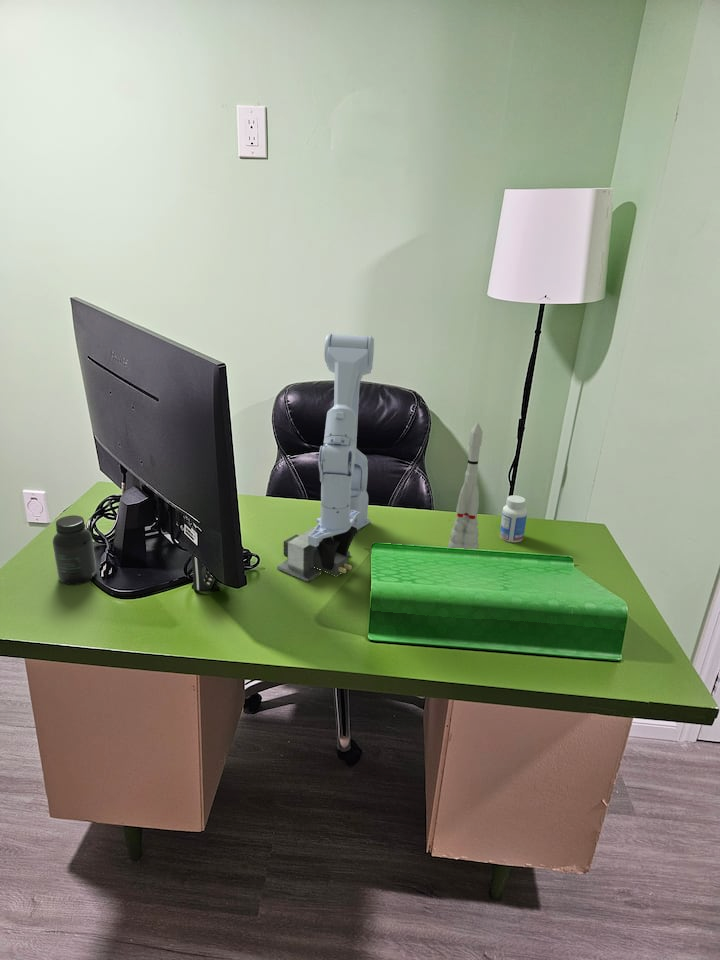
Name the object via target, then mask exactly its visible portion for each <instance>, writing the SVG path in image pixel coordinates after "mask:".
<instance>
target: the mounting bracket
mask: <svg viewBox="0 0 720 960" xmlns="http://www.w3.org/2000/svg"><path fill="white" fill-rule="evenodd" d="M315 528H316V526H314V527H312V528H310V529H309V530H307V531H305V532H303V533H301V534H299V536H298V537H296V538H294V539H293V540H291V541H289V542H288V556H287V559H286V560H285V561H283V562H281V563H279V564H278V565H277V566H276V570H278V571H280V572H282V571H283V573H285V572H286V573H285V574H287V573H288V574H287V575H289V574H290V576H292V577H294V576H295V577H294V578H296V577H297V578H296V579H299V578H300V579H299V580H301V579H302V580H301V581H303V580H304V581H303V582H305V581H310V580H311V581H312V579H313V578H314V579H316V578H317V577H319V576H320V575H321V574H322V571H321V570H319V569H317V568H314V551H315V550H316V549H317V548H316V547H315V546H312V545H309V544H308V535H309V534H311V533H312V532H313V531H314V529H315ZM331 538H333V536H332V537H331ZM350 554H351V552H350V550H348V552H347V556H346V557H349V556H350ZM320 573H321V574H320ZM319 574H320V575H319ZM318 575H319V576H318ZM316 576H317V577H316ZM315 577H316V578H315ZM314 579H313V580H314ZM311 581H310V582H311Z"/></svg>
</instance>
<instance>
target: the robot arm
mask: <svg viewBox="0 0 720 960" xmlns="http://www.w3.org/2000/svg"><path fill="white" fill-rule="evenodd" d="M374 351H375V338H374V337H373V336H372V335H368V336H367V335H351V334H350V335H348V334H335V333H334V334H333V333H328V334H327V335H326V336H325V340H324V352H323V353H324V355H323V356H324V362H325V364H326V366H327V369H328V370H329V372H332V373H333V374H334V379H333V380H334V385H333V387H334V389H333V391H334V392H333V393H334V394H333V397H334V398H333V406H332V407H331V408H329V409H328V411H327V413H326V419H325V427H324V428H325V429H324V438H323V445H320V447H319V452H318V470H319V481H320V483H321V486H320V517H318V518H316V523H317V525H316V526H315V527H316V528H315V529H314V531H313V532H312V533H311V534H309V535H308V544H309V545H312V546H315V547H316V548H317V550H318V553H319V556H320V559H321V563H322V567H323V568H325V569H328V570H332V569H333V565H334V558H335V553H336V552H337V553H339V554H342V555H344V556H347V552H348V551H349V549H350V546H351V544H352V541H353V539H354V537H355V536H356V535H357V534H358V531H359V530H360V529H363V527H366V526H367V525H368V524H371V520H370V519H368V517H369V516H368V514H369V513H368V511H369V494H368V492H367V491H368V490H367V488H368V487H367V486H368V474H369V473H368V472H369V467H368V458H367V455H365V454H364V453H362V452H361V451H360V450H359V449H358V448H357V441H358V439H357V437H358V424H359V422H358V421H359V420H358V418H359V405H360V385H361V381H362V379H363V377H364V376H366V375H369V374H371V373H372V370H373V363H374V353H375V352H374ZM332 536H333V538H331V537H332ZM347 557H348V556H347Z"/></svg>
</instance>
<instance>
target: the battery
mask: <svg viewBox="0 0 720 960" xmlns="http://www.w3.org/2000/svg"><path fill="white" fill-rule="evenodd" d="M190 555H191V564H192V566H191V567H192V576H193V577H192V579H193V590H196V591H208V590H211V588H212V587H213V585H214V583H215V581H216V579H214V578H213V576H212V575H211V574H210V573H209V572H208V571H207V570H206V569H205V567H204V566H203V565H202V563H200V562H199V560H198V559H197V558H196V557H194V556H192V554H190Z"/></svg>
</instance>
